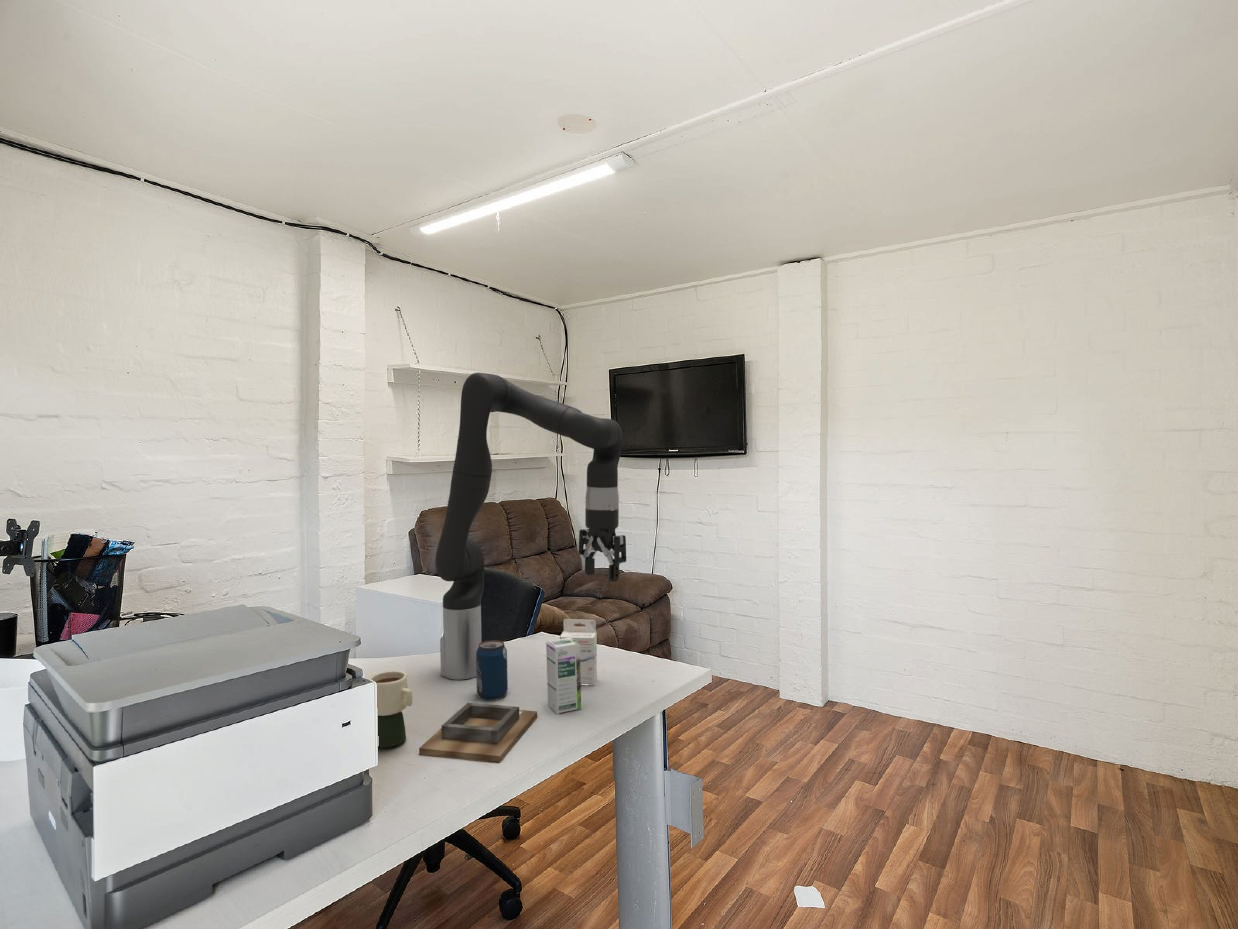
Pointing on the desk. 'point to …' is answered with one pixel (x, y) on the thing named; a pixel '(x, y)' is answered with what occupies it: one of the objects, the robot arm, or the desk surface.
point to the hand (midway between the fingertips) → (601, 577)
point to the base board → (480, 732)
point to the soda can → (491, 670)
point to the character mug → (391, 706)
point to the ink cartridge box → (584, 646)
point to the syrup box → (563, 675)
